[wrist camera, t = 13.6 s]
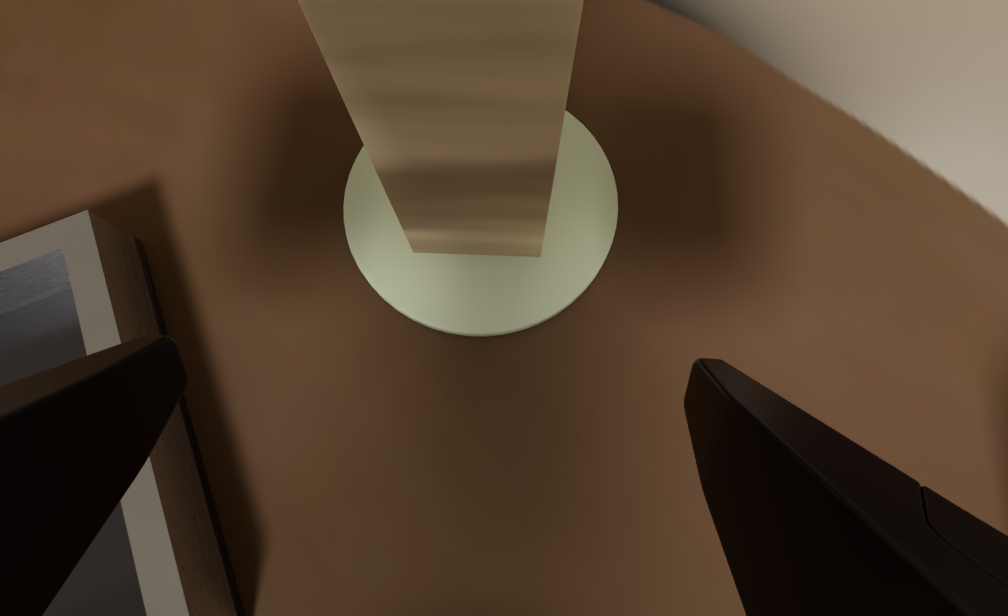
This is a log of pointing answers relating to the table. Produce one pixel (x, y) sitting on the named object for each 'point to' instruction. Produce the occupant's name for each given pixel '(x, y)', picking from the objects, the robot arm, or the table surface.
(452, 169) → the maple block
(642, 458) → the table surface
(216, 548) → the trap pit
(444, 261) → the pad
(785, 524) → the robot arm
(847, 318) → the table surface
